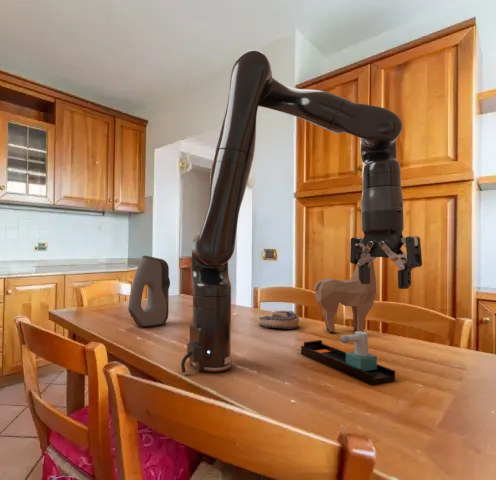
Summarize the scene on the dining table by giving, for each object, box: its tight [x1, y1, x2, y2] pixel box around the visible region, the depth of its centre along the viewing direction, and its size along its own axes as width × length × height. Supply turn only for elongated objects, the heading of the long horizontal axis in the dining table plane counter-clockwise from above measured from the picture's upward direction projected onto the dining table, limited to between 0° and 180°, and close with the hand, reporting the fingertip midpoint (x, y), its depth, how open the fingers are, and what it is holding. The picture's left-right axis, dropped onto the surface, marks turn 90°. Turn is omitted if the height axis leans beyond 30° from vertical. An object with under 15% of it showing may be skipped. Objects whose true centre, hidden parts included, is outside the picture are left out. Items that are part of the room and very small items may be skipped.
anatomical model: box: [258, 310, 300, 330], centre depth 120 cm, size 12×16×5 cm
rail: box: [300, 339, 396, 386], centre depth 81 cm, size 7×21×3 cm, turn 21°
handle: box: [339, 331, 378, 371], centre depth 76 cm, size 8×4×8 cm, turn 111°
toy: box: [312, 246, 377, 335], centre depth 112 cm, size 9×20×30 cm, turn 78°
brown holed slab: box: [127, 255, 171, 328], centre depth 119 cm, size 6×15×25 cm, turn 125°
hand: (383, 286), depth 70 cm, fingers open, 8 cm apart
